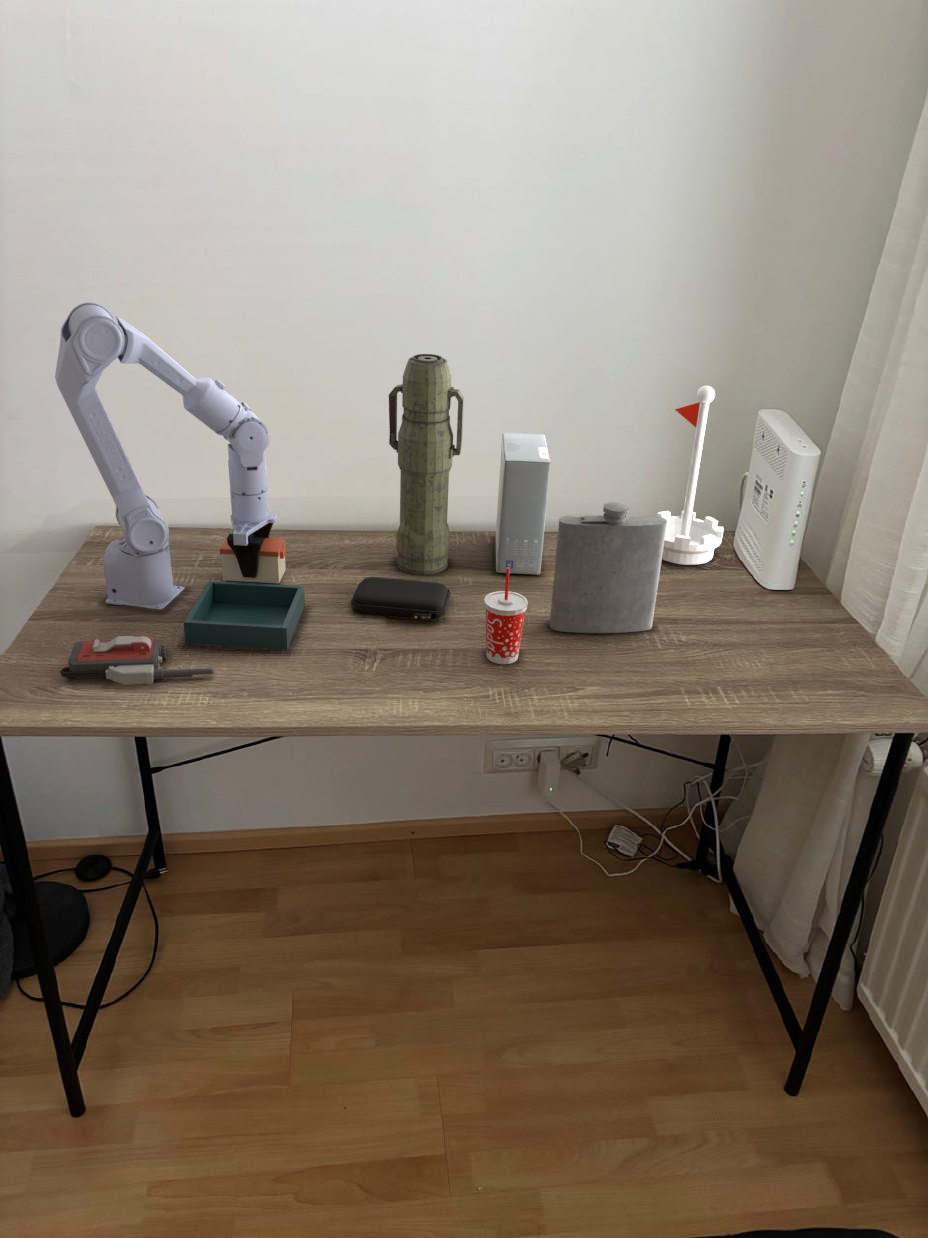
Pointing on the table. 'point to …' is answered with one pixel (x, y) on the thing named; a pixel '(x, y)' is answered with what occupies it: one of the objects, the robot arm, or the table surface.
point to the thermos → (424, 462)
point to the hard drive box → (522, 503)
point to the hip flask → (607, 572)
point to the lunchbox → (268, 566)
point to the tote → (245, 615)
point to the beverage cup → (504, 624)
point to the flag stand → (692, 500)
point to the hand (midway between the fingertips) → (253, 568)
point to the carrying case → (401, 598)
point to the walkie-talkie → (123, 661)
